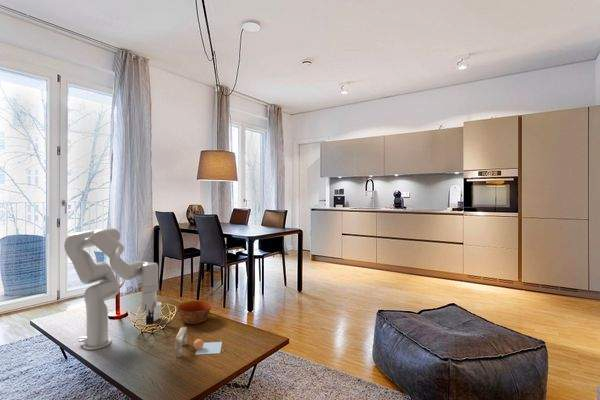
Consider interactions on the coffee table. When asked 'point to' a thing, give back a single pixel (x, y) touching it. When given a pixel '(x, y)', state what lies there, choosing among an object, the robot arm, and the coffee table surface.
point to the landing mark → (210, 348)
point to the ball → (198, 344)
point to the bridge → (180, 341)
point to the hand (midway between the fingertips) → (149, 323)
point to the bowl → (194, 311)
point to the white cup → (157, 311)
